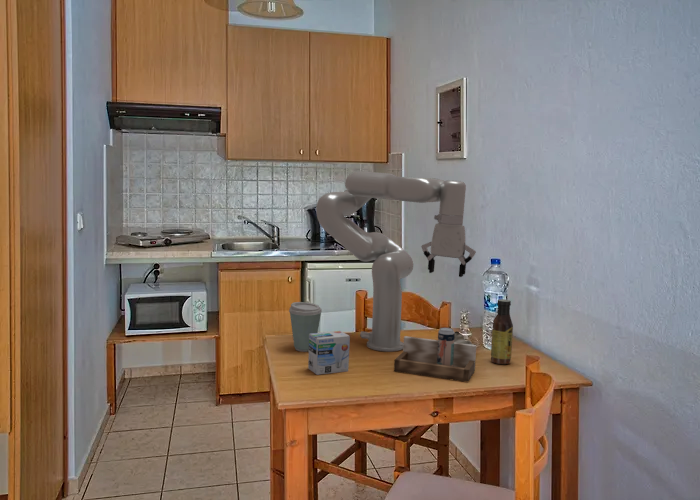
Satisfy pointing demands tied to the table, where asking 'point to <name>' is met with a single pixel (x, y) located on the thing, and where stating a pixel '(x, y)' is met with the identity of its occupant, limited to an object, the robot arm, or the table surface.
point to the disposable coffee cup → (304, 323)
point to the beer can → (445, 346)
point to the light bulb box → (328, 352)
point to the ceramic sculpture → (460, 339)
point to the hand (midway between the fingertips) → (446, 274)
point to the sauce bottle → (502, 334)
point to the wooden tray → (435, 360)
